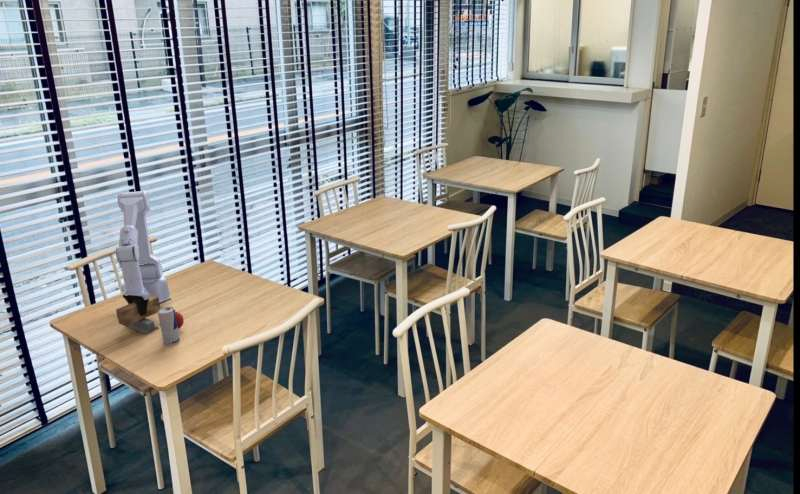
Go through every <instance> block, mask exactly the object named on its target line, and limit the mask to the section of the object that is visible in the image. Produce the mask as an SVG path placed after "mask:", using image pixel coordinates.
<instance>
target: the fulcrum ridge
mask: <svg viewBox="0 0 800 494" xmlns="http://www.w3.org/2000/svg"><path fill="white" fill-rule="evenodd" d="M127 327H129V328H131V329H133V330H136V331H138V332H141V333H143V334H145V335H147V334H150V333H151V332H153V331H156V330H158V329H159V326H158V325H157V324H155V322H154V321H153V320H151V319H148V318H147V317H146V318H144V319H141V320H139V321H137V322H135V323H132V324H130V325H128V326H127Z"/></svg>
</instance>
